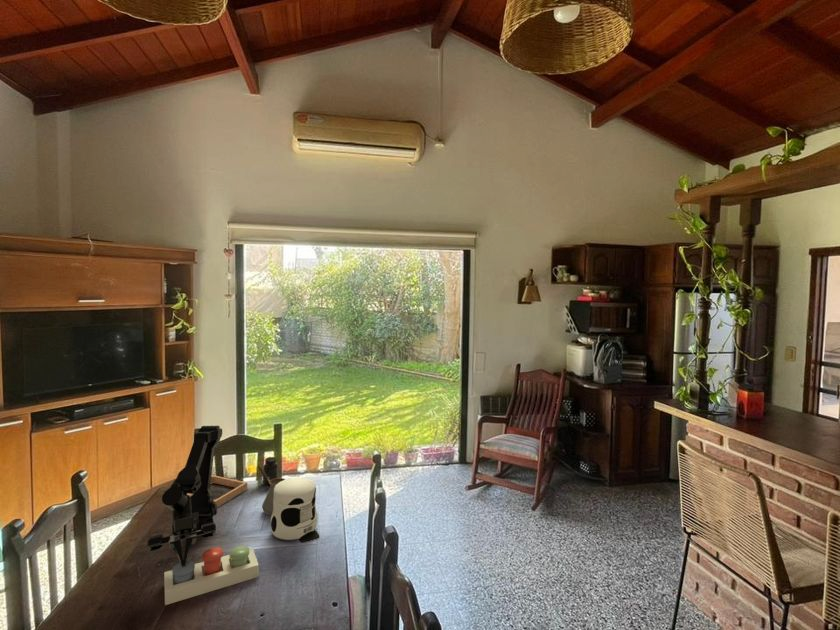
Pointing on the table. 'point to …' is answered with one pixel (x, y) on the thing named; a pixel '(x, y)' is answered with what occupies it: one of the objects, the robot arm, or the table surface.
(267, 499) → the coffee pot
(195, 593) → the button console
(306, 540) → the phone
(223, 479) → the square wooden frame
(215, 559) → the red button
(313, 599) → the table surface
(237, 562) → the sage green button
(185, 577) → the slate blue button
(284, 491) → the milk container
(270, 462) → the supplement bottle
